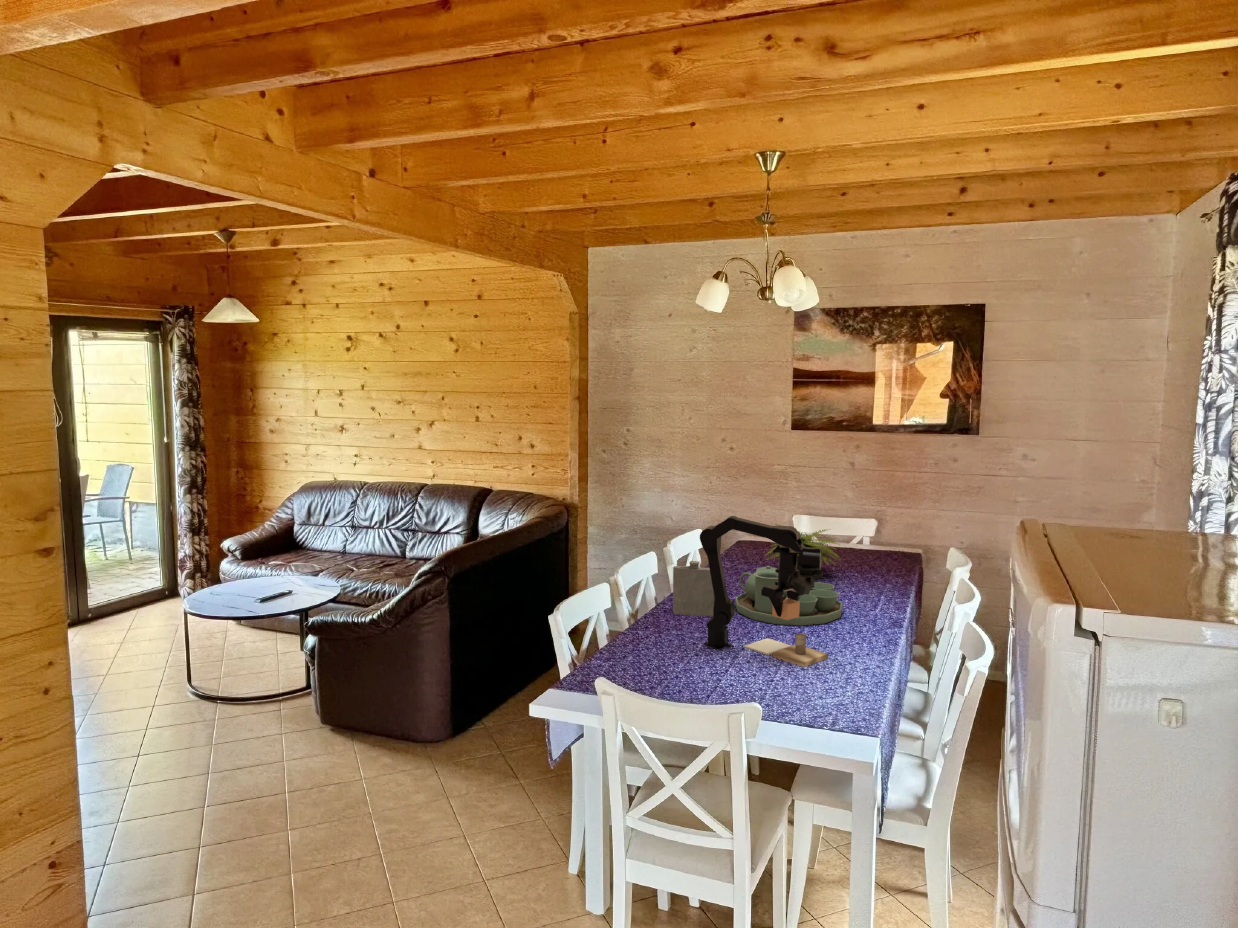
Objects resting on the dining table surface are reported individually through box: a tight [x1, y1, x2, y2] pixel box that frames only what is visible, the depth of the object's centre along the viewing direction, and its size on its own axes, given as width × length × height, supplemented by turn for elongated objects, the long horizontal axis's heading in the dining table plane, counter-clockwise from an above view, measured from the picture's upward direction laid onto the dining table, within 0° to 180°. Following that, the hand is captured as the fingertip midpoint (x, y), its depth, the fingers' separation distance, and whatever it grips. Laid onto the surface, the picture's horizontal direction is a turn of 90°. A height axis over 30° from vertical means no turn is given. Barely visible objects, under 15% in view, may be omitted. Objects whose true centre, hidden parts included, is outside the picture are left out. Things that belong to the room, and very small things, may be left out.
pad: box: [743, 637, 793, 656], centre depth 272 cm, size 12×10×1 cm
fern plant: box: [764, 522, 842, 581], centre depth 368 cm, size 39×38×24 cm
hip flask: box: [672, 560, 714, 617], centre depth 308 cm, size 16×4×20 cm, turn 76°
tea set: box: [734, 565, 843, 627], centre depth 313 cm, size 40×40×16 cm
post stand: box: [772, 632, 829, 668], centre depth 262 cm, size 12×12×8 cm
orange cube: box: [772, 598, 800, 620], centre depth 265 cm, size 6×6×5 cm
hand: (785, 614), depth 265 cm, fingers closed on orange cube, 6 cm apart
